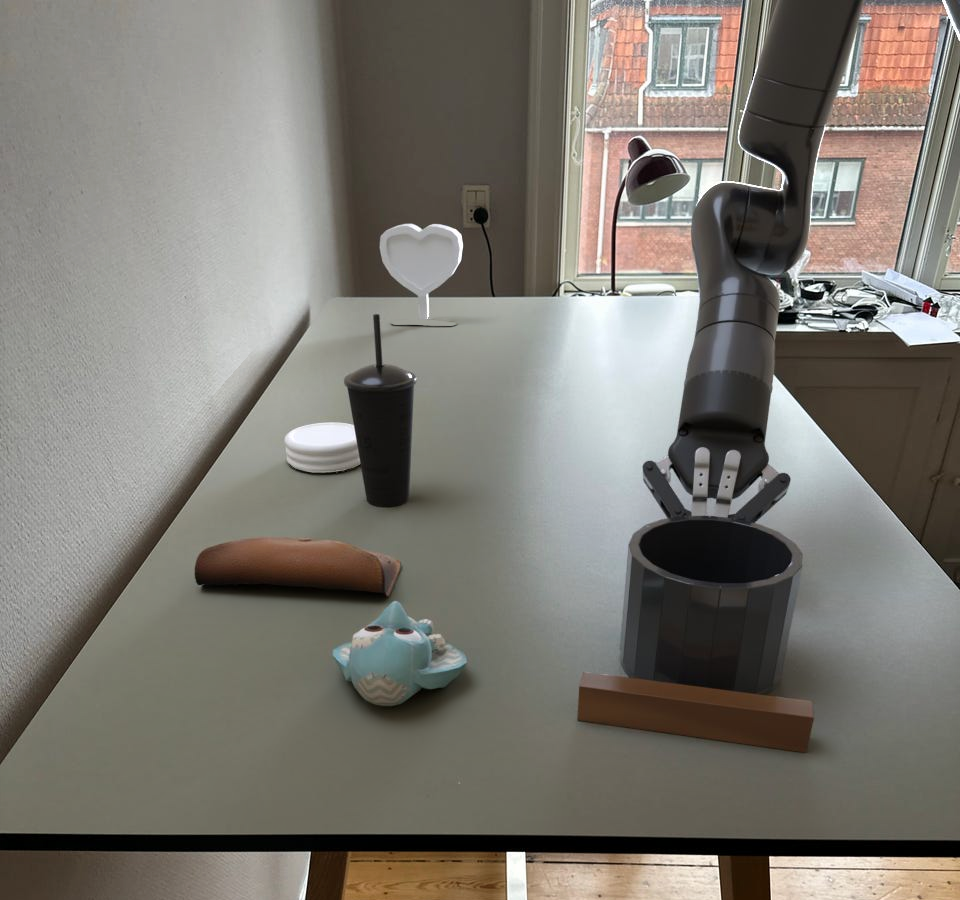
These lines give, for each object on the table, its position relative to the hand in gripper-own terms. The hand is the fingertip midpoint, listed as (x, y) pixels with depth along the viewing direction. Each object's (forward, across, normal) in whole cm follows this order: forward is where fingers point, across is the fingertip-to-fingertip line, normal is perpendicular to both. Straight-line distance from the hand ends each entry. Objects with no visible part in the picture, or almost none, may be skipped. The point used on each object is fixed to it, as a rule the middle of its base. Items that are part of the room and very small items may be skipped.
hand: (701, 574), depth 77 cm
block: (+14, +1, -8) cm, 17 cm away
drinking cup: (-10, -36, +17) cm, 41 cm away
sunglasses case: (+4, -36, +3) cm, 37 cm away
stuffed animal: (+14, -22, -7) cm, 27 cm away
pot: (+8, +1, -2) cm, 8 cm away
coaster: (-17, -47, +24) cm, 56 cm away
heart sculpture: (-72, -60, +80) cm, 123 cm away
